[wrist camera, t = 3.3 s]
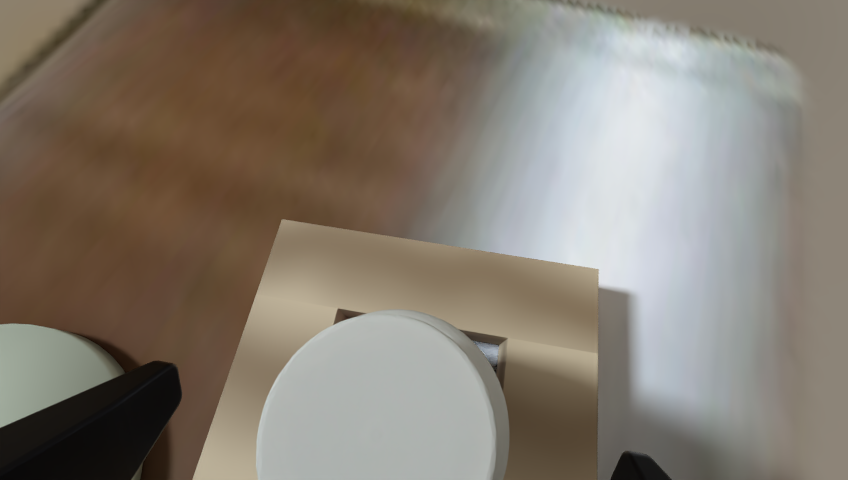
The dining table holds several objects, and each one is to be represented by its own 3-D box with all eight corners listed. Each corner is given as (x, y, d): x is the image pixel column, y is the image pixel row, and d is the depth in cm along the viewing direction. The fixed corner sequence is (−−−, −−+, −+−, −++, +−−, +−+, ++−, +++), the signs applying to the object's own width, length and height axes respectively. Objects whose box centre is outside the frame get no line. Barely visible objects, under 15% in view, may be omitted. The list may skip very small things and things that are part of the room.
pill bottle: (384, 320, 17) (331, 227, 8) (499, 384, 16) (595, 363, 7) (312, 445, 15) (133, 515, 6) (436, 526, 14) (452, 761, 5)
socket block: (570, 674, 12) (595, 722, 11) (185, 583, 13) (146, 612, 12) (580, 283, 17) (598, 269, 15) (297, 237, 18) (282, 219, 16)
